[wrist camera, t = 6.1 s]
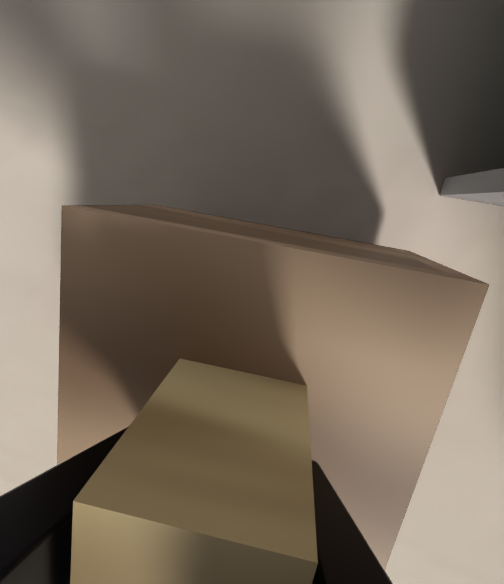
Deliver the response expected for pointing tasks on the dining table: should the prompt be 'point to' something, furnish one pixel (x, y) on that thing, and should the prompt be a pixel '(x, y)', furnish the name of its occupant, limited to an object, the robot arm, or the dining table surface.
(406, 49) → the dining table surface
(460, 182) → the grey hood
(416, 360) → the hood walnut
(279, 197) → the dining table surface
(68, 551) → the robot arm
